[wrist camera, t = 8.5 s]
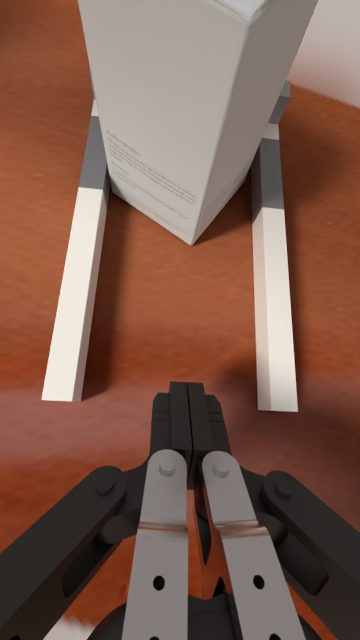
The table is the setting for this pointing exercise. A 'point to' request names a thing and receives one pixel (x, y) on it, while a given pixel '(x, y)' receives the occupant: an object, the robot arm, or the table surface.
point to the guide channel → (267, 259)
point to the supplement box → (187, 96)
